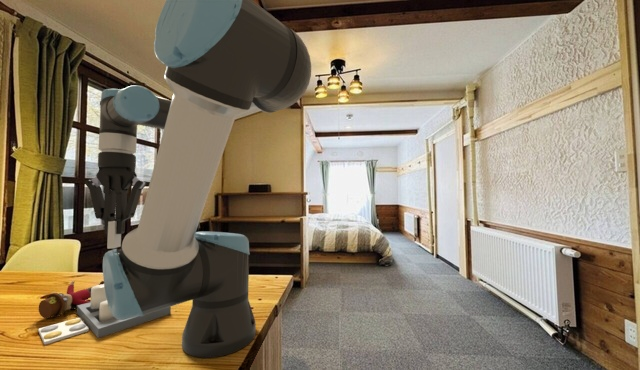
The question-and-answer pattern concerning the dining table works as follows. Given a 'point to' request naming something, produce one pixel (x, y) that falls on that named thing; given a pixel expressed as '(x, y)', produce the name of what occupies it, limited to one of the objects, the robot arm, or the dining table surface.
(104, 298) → the button far left
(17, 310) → the dining table surface
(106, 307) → the button near left
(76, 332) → the card
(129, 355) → the dining table surface
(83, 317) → the board
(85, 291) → the toy
